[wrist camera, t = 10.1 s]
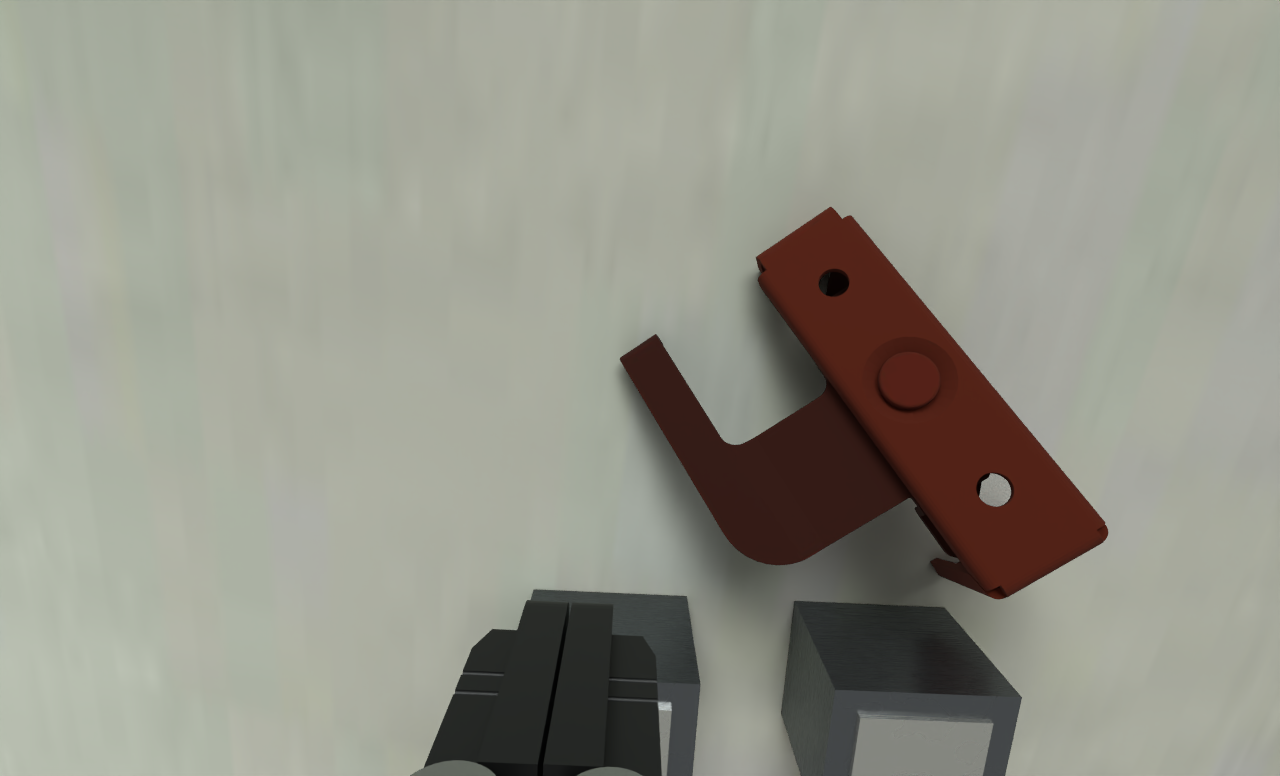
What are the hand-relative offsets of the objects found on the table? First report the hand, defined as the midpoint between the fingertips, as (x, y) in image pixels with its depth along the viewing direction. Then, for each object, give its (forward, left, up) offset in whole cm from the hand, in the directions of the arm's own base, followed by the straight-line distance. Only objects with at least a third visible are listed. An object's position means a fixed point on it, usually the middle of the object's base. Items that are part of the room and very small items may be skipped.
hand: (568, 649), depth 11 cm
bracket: (-10, +1, -17) cm, 20 cm away
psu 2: (-13, +12, -17) cm, 24 cm away
